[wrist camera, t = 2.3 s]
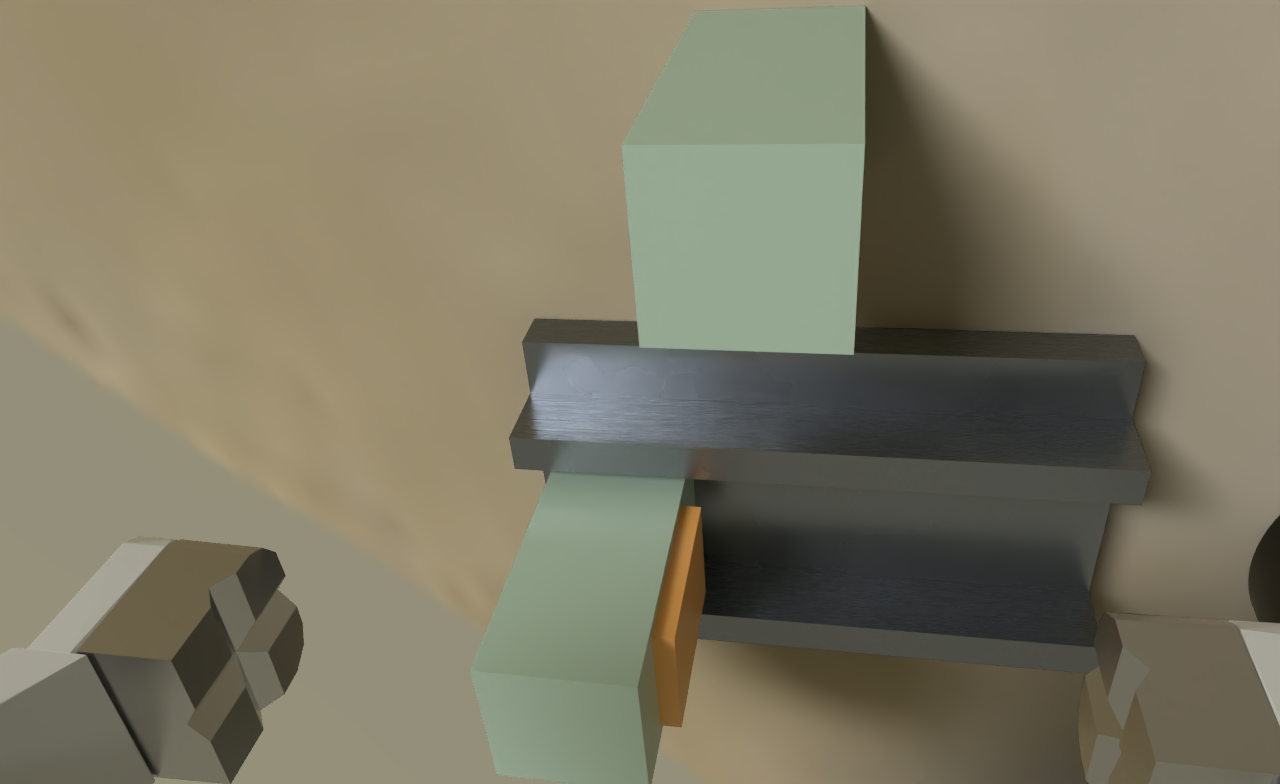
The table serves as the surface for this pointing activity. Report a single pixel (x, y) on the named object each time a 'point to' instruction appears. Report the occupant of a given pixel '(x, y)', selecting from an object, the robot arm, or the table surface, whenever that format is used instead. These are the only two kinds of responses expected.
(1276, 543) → the water bottle
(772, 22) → the pale green block
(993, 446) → the rail
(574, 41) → the table surface
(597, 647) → the green and orange block
